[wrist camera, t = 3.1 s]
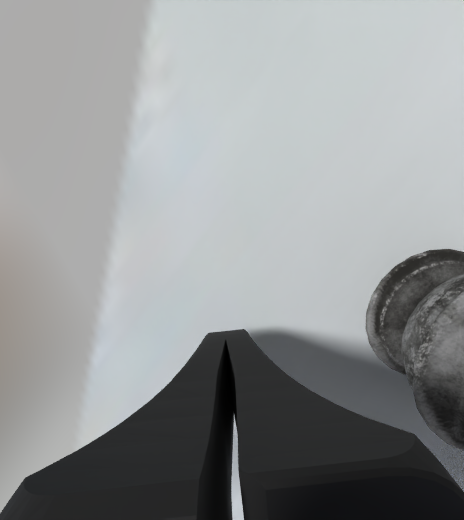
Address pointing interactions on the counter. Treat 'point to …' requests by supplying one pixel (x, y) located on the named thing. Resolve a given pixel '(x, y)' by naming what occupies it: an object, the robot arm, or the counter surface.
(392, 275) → the grey tapered rounded piece
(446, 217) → the counter surface
